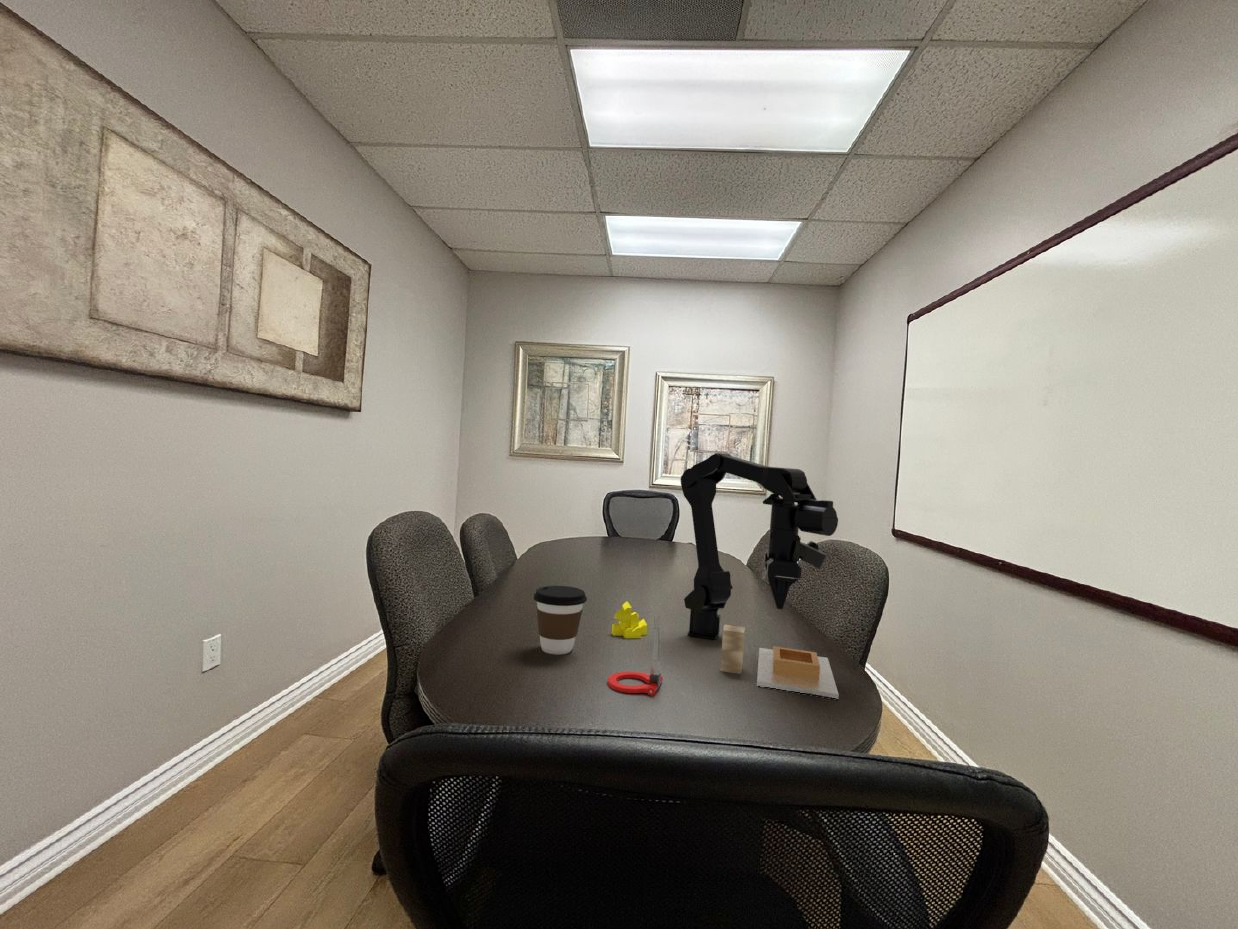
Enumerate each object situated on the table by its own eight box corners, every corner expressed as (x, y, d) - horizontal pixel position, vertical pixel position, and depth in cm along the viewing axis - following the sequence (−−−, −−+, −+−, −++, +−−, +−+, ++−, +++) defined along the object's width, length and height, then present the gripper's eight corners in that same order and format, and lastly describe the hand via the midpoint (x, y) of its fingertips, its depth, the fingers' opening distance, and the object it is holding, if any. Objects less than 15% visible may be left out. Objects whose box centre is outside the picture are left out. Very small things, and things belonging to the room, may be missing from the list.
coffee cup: (519, 652, 111) (523, 592, 111) (546, 637, 121) (550, 582, 121) (568, 662, 107) (572, 600, 107) (592, 646, 117) (595, 590, 117)
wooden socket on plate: (756, 686, 102) (757, 667, 102) (758, 652, 121) (760, 636, 121) (838, 700, 98) (839, 680, 98) (827, 662, 117) (828, 646, 117)
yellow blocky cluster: (649, 638, 126) (652, 604, 126) (615, 639, 124) (618, 604, 124) (641, 630, 132) (643, 597, 132) (609, 631, 129) (611, 597, 129)
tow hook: (601, 692, 96) (654, 699, 93) (603, 616, 96) (655, 622, 94) (615, 675, 104) (664, 681, 101) (617, 605, 104) (665, 610, 102)
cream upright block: (720, 670, 108) (723, 630, 108) (722, 664, 112) (724, 624, 112) (741, 674, 107) (744, 633, 107) (742, 667, 111) (745, 627, 111)
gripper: (832, 538, 104) (825, 620, 105) (819, 527, 123) (813, 598, 123) (770, 532, 107) (764, 613, 107) (767, 522, 125) (761, 591, 125)
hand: (778, 603), depth 115 cm, fingers open, 9 cm apart
